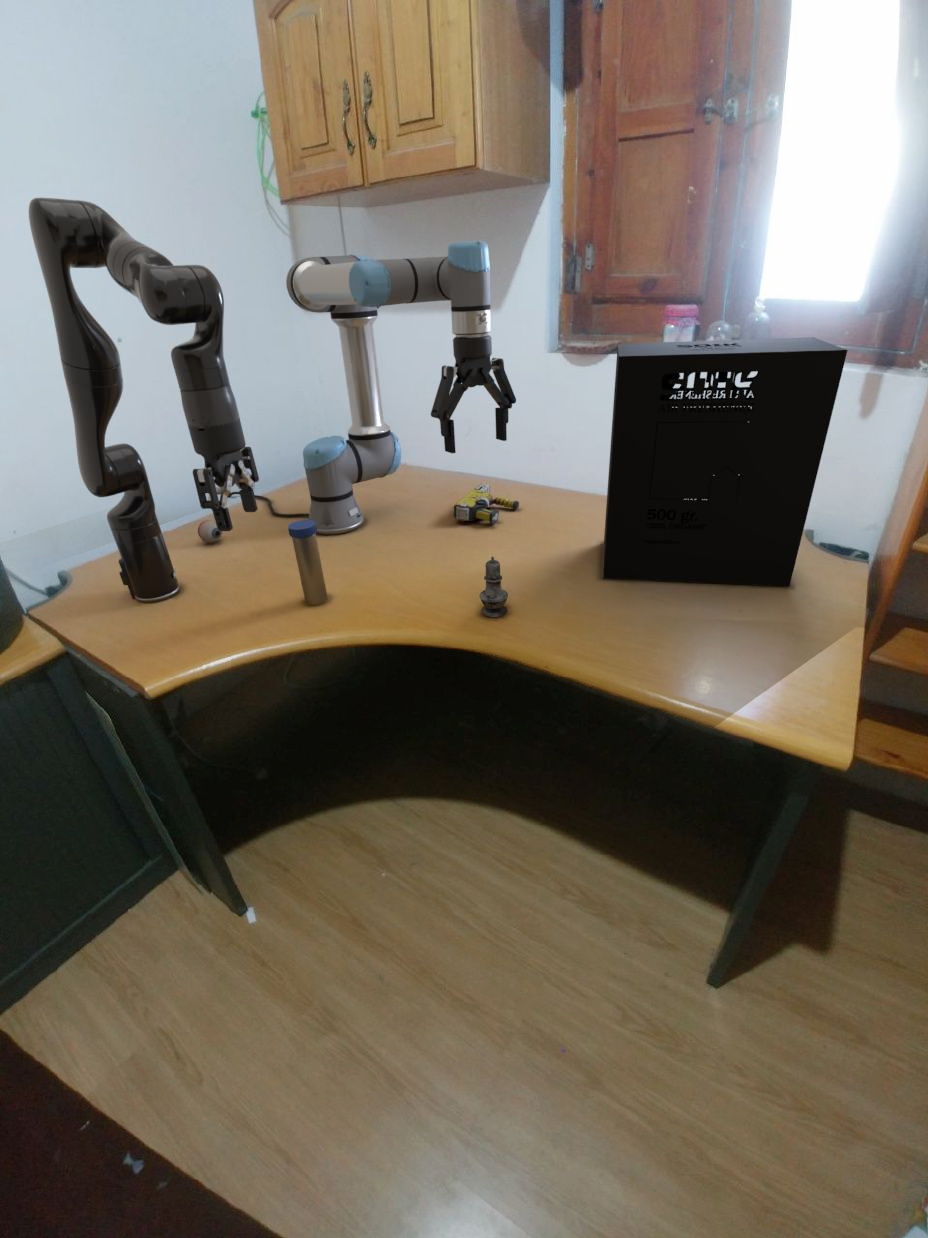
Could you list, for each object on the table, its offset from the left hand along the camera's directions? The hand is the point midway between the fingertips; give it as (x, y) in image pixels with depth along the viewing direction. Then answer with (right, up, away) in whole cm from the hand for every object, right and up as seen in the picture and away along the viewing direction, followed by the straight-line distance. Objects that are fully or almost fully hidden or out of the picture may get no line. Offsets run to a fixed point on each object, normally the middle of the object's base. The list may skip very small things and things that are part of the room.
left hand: (239, 520), depth 99 cm
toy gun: (+45, +15, +74) cm, 88 cm away
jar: (+5, -12, +32) cm, 34 cm away
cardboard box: (+88, -3, +38) cm, 96 cm away
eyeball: (-31, +5, +64) cm, 71 cm away
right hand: (+40, +20, +29) cm, 53 cm away
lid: (+4, +3, +23) cm, 24 cm away
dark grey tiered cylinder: (+43, -15, +24) cm, 51 cm away
